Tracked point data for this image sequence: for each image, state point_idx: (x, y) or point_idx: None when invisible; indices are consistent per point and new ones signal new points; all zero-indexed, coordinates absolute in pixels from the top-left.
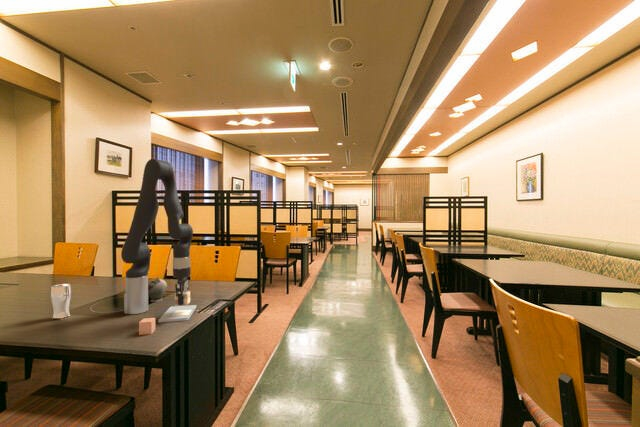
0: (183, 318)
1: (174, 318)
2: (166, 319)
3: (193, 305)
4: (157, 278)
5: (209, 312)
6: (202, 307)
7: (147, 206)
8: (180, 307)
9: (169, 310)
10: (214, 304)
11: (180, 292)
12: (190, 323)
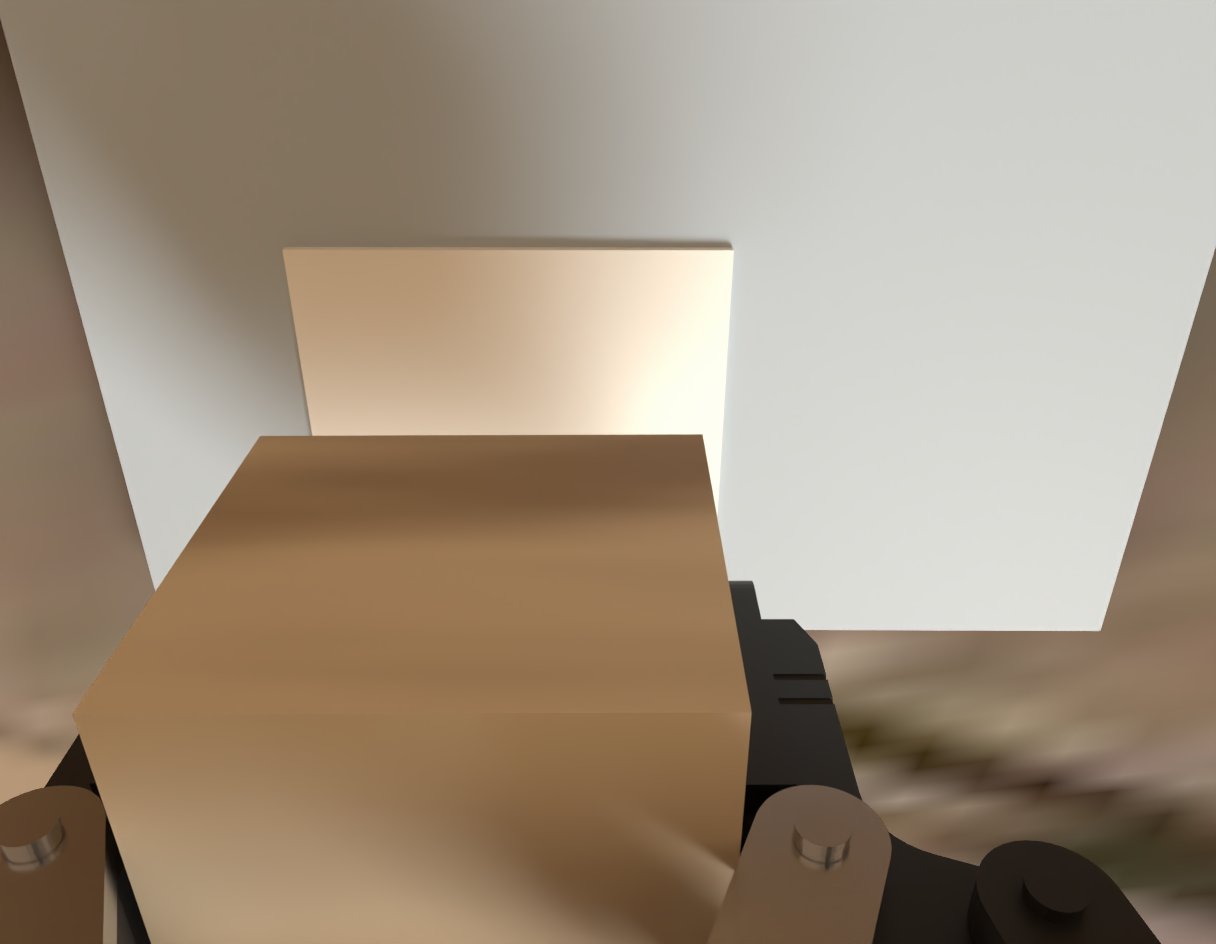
0: (146, 546)
1: (106, 362)
2: (40, 164)
3: (1082, 580)
4: None
5: None
6: (1002, 709)
7: None
8: (1044, 290)
9: (856, 11)
10: (1111, 873)
11: (573, 846)
12: (23, 665)
